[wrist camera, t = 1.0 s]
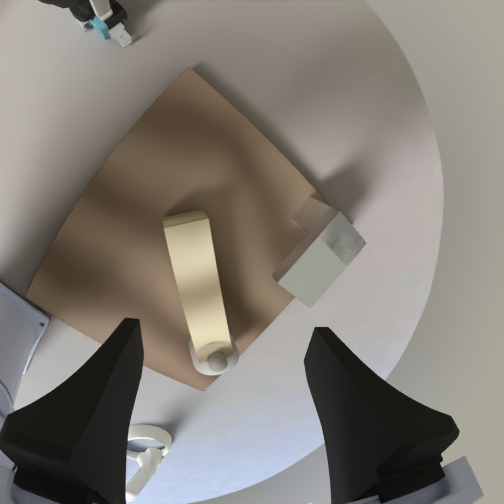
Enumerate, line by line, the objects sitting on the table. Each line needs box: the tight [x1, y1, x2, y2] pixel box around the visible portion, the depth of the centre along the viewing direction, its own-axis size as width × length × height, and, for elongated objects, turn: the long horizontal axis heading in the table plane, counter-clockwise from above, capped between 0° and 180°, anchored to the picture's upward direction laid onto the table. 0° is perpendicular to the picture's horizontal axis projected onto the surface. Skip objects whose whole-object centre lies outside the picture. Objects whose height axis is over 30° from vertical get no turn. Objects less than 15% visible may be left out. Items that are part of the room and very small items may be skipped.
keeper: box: [271, 197, 366, 308], centre depth 24 cm, size 7×4×5 cm, turn 137°
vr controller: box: [126, 424, 172, 502], centre depth 28 cm, size 8×12×7 cm
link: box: [162, 209, 239, 375], centre depth 23 cm, size 14×4×3 cm, turn 7°
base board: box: [25, 67, 330, 391], centre depth 24 cm, size 22×20×1 cm
